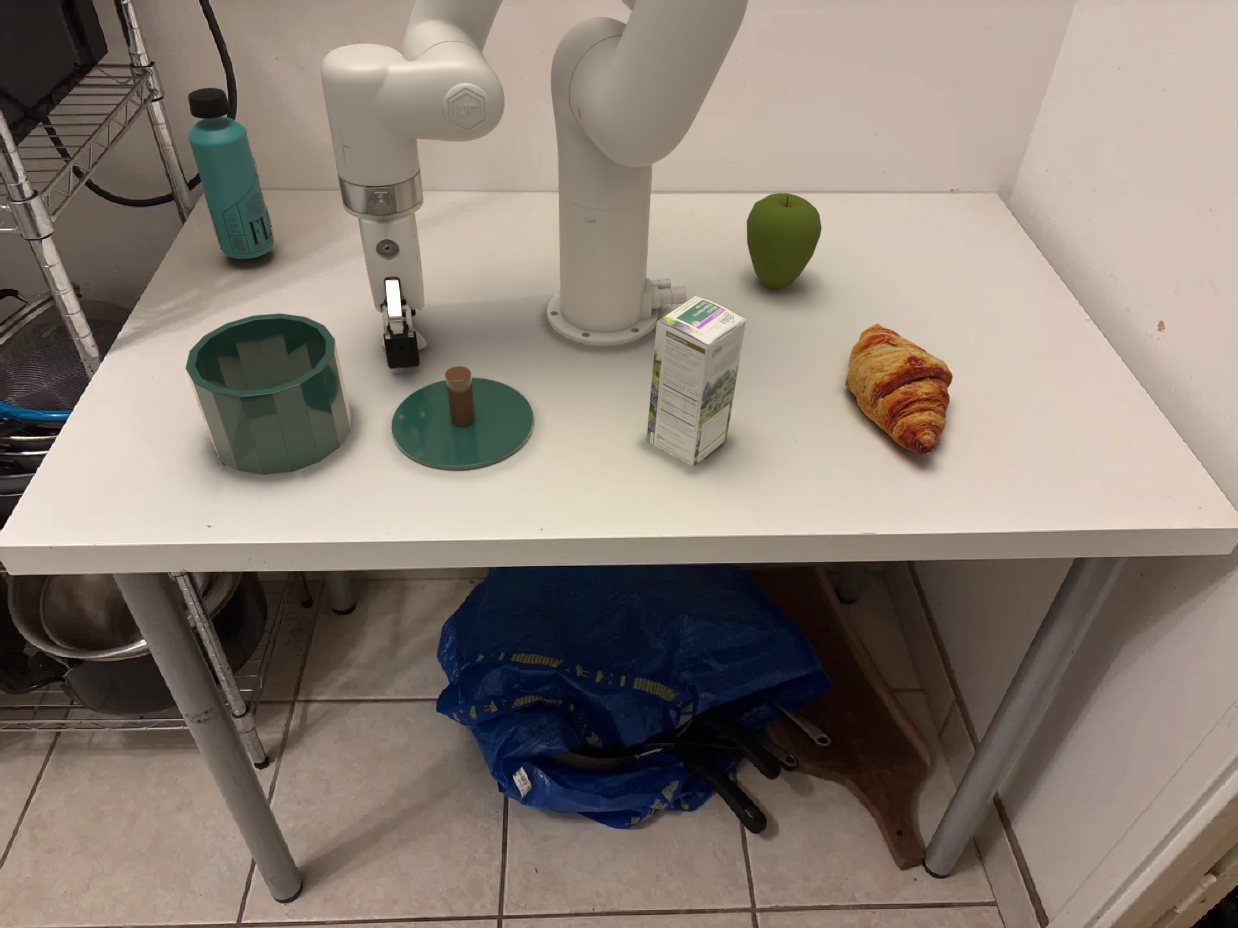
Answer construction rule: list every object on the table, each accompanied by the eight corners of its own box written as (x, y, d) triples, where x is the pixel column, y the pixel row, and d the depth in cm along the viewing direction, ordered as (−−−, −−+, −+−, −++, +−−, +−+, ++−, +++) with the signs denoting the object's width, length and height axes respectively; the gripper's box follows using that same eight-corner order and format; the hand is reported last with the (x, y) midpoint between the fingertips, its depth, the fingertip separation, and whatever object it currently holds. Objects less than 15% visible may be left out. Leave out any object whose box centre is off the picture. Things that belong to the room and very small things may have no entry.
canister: (352, 387, 95) (335, 308, 89) (351, 469, 86) (332, 387, 79) (222, 400, 93) (196, 319, 86) (207, 485, 84) (176, 402, 77)
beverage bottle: (263, 274, 111) (219, 106, 97) (211, 267, 112) (161, 99, 98) (288, 247, 116) (250, 84, 102) (238, 241, 116) (194, 78, 103)
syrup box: (680, 417, 93) (692, 291, 83) (729, 442, 90) (747, 315, 80) (645, 445, 90) (653, 317, 80) (694, 472, 87) (709, 343, 77)
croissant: (837, 367, 106) (815, 314, 101) (924, 331, 103) (905, 275, 98) (889, 493, 90) (865, 436, 85) (993, 454, 87) (974, 394, 82)
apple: (823, 294, 111) (842, 205, 103) (763, 309, 108) (778, 218, 100) (784, 260, 117) (798, 173, 109) (726, 273, 114) (736, 185, 106)
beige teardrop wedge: (394, 336, 102) (391, 316, 100) (436, 344, 101) (434, 324, 99) (376, 357, 99) (372, 337, 97) (419, 366, 98) (416, 346, 96)
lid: (524, 379, 97) (521, 326, 92) (542, 466, 87) (541, 410, 82) (391, 392, 94) (382, 338, 90) (394, 483, 85) (384, 427, 80)
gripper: (426, 229, 82) (443, 385, 93) (417, 148, 94) (433, 295, 106) (338, 234, 81) (367, 392, 92) (341, 151, 93) (366, 299, 105)
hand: (402, 340), depth 99 cm, fingers open, 9 cm apart
